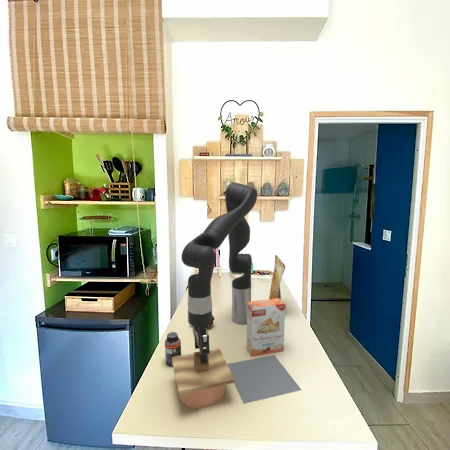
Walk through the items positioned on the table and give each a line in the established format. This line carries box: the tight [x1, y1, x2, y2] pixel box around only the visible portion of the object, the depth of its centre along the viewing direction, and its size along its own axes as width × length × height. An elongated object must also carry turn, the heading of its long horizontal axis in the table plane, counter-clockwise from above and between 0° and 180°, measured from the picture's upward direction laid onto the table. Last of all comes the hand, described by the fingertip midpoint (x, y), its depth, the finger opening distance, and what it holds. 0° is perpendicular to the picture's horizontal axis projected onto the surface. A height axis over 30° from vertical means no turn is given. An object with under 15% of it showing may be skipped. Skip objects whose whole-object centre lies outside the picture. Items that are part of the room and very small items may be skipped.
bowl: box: [178, 385, 226, 410], centre depth 95 cm, size 15×15×7 cm
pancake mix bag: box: [268, 254, 286, 301], centre depth 151 cm, size 7×19×28 cm, turn 176°
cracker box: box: [246, 298, 286, 358], centre depth 115 cm, size 14×6×21 cm, turn 105°
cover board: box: [172, 348, 235, 396], centre depth 94 cm, size 17×17×6 cm
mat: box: [227, 354, 302, 404], centre depth 101 cm, size 20×20×1 cm
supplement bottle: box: [164, 331, 182, 367], centre depth 110 cm, size 6×6×11 cm
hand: (200, 355), depth 94 cm, fingers open, 8 cm apart
